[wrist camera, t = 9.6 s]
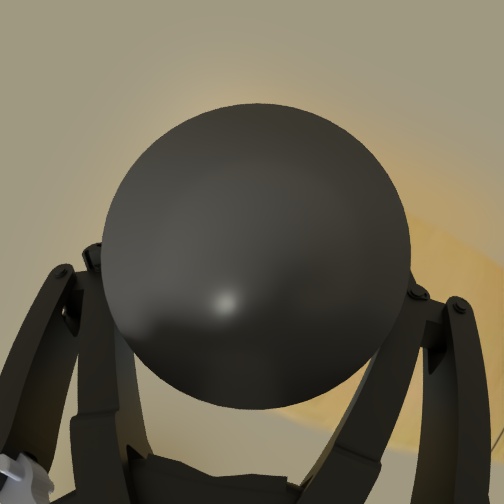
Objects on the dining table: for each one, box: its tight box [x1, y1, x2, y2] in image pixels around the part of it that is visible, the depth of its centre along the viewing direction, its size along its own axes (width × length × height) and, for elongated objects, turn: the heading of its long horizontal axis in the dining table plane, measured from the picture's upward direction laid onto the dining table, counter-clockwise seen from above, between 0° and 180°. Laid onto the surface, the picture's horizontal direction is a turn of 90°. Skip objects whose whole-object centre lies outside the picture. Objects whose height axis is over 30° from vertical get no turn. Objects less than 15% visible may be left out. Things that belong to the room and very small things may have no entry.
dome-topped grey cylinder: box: [101, 103, 411, 410], centre depth 14 cm, size 9×9×12 cm
